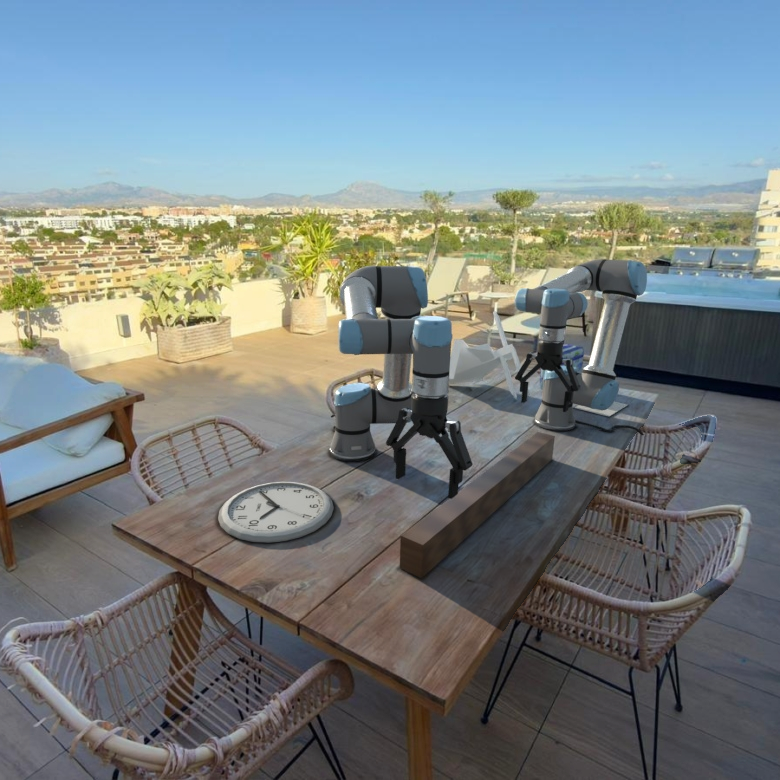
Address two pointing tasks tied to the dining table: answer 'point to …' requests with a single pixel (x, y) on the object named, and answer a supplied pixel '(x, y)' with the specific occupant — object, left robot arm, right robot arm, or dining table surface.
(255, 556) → the dining table surface
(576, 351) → the lunch box
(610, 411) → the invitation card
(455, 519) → the bar
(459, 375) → the white plastic object
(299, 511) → the wall clock
